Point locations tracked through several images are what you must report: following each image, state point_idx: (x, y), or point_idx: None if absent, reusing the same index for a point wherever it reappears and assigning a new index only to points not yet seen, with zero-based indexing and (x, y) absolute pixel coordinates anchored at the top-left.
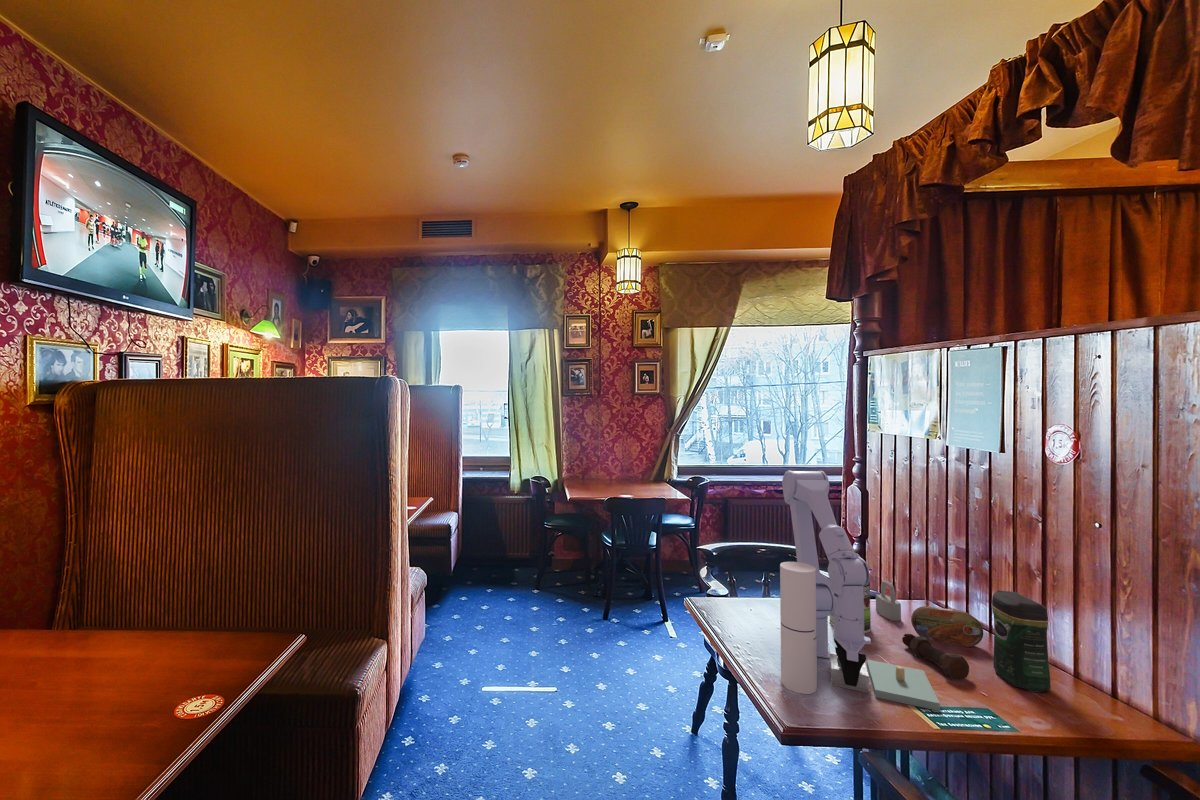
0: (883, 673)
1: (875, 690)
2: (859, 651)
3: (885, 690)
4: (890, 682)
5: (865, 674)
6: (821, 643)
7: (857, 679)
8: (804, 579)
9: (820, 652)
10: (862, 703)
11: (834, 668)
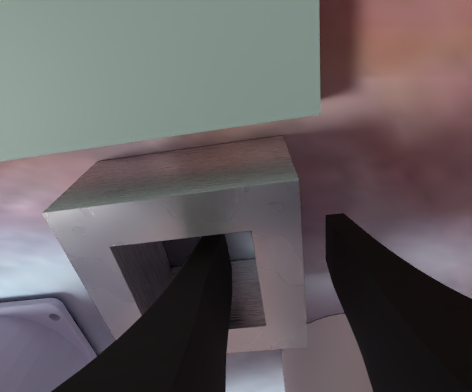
0: (30, 62)
1: (320, 111)
2: (188, 356)
3: (298, 45)
4: (140, 5)
5: (282, 200)
6: (23, 378)
7: (368, 236)
8: None
9: (54, 337)
10: (407, 161)
11: (299, 337)
